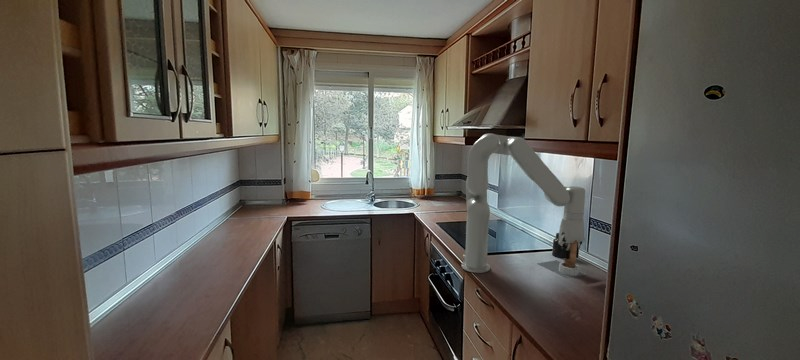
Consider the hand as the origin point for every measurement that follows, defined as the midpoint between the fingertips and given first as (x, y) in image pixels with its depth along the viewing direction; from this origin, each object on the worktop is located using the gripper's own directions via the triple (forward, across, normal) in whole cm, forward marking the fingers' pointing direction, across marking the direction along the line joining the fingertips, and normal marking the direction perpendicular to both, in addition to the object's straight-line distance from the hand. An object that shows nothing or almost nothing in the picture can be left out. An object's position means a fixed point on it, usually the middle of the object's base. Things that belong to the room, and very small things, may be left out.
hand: (570, 256), depth 150 cm
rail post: (+4, 0, 0) cm, 4 cm away
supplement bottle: (+8, -12, -17) cm, 22 cm away
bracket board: (+8, 0, -4) cm, 9 cm away
